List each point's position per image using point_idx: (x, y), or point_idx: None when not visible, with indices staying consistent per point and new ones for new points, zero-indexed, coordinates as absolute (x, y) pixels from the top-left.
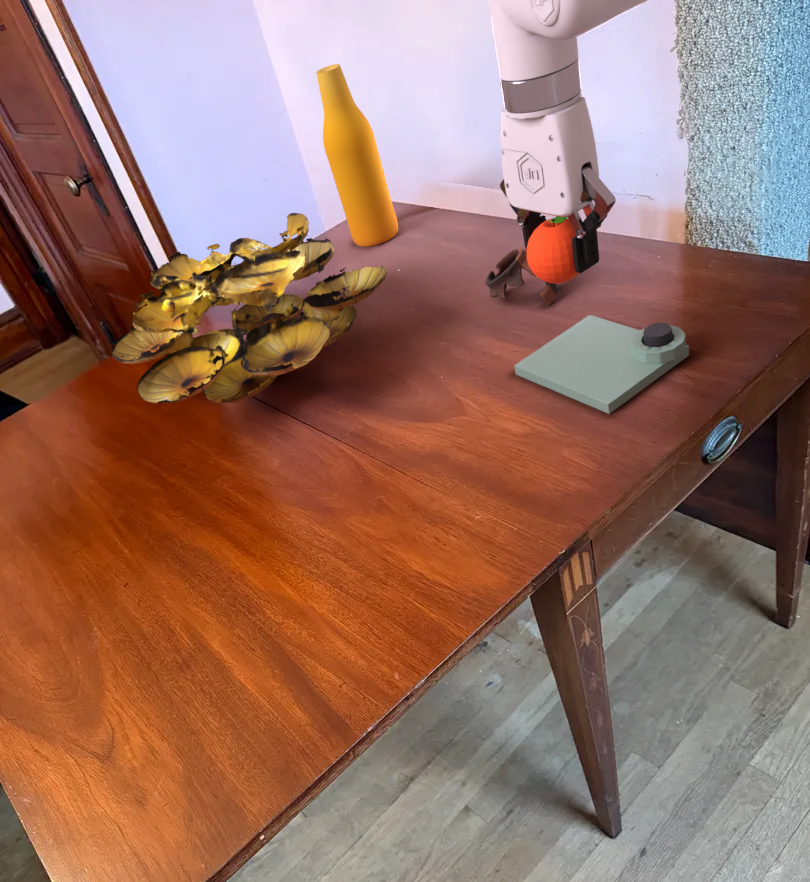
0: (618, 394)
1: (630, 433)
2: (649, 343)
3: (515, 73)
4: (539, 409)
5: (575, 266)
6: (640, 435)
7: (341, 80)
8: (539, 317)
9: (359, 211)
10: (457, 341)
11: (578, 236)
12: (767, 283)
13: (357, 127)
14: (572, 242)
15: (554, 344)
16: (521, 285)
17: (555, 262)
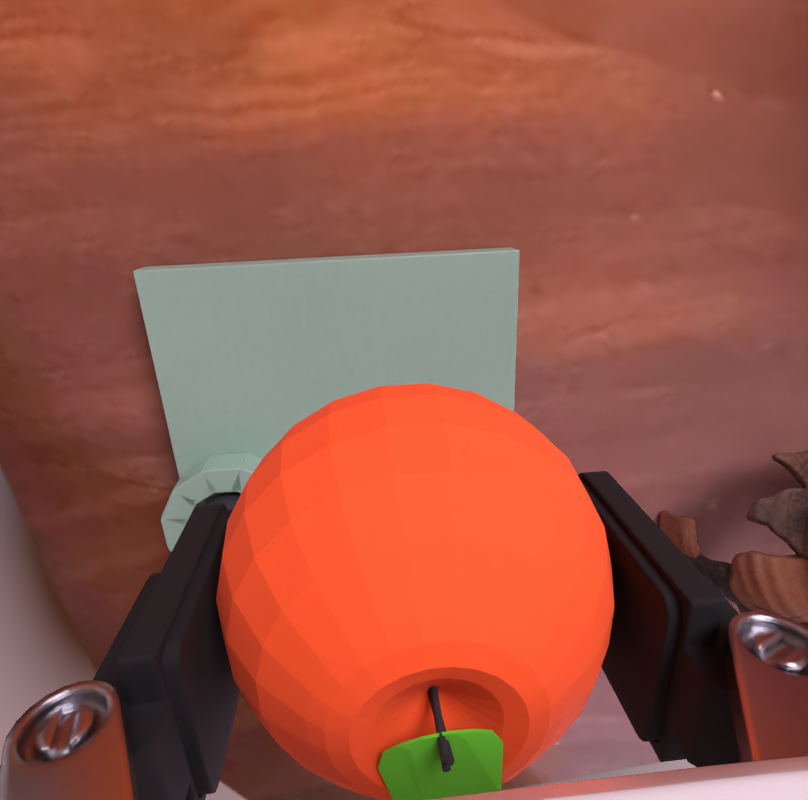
0: (152, 321)
1: (30, 238)
2: (223, 501)
3: None
4: (317, 165)
5: (212, 520)
6: (4, 248)
7: None
8: (646, 468)
9: None
10: (797, 265)
11: (97, 694)
12: (287, 768)
13: None
14: (163, 632)
15: (491, 389)
16: (752, 507)
17: (269, 465)
